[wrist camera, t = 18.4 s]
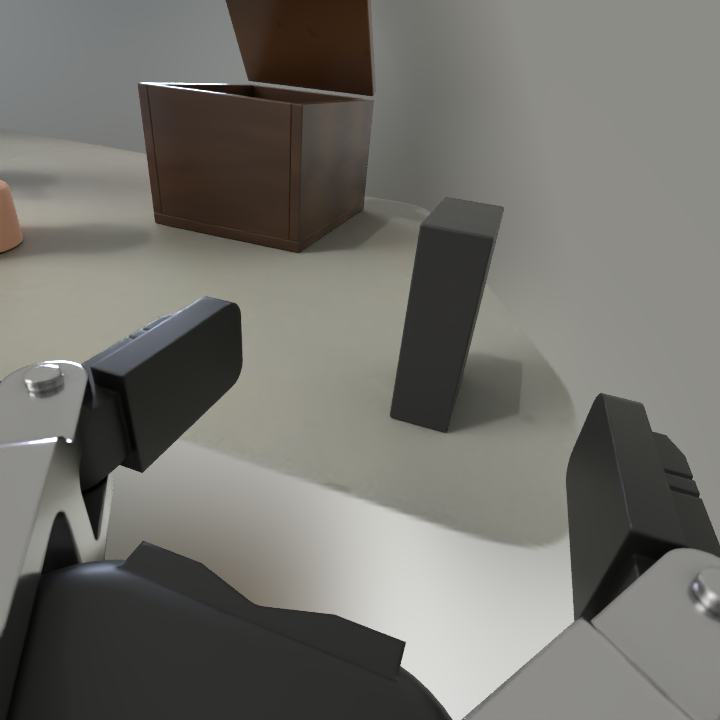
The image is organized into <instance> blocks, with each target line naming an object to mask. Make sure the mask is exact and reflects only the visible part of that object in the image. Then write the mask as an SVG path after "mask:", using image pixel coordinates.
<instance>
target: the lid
mask: <svg viewBox="0 0 720 720" xmlns="http://www.w3.org/2000/svg"><path fill="white" fill-rule="evenodd" d="M226 3H227V7H228V10H229V14H230V17H231V21H232V24H233V28H234V31H235V35H236V38H237V42H238V45H239V49H240V52H241V56H242V59H243V63H244V66H245V70H246V74H247V77H248V80H249V81H254V82H262V83H271V84H279V85H287V86H295V87H303V88H311V89H319V90H327V91H335V92H343V93H352V94H359V95H367V96H373V95H374V93H375V91H376V90H375V72H374V71H375V70H374V52H373V34H372V17H371V0H226Z"/></svg>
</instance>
